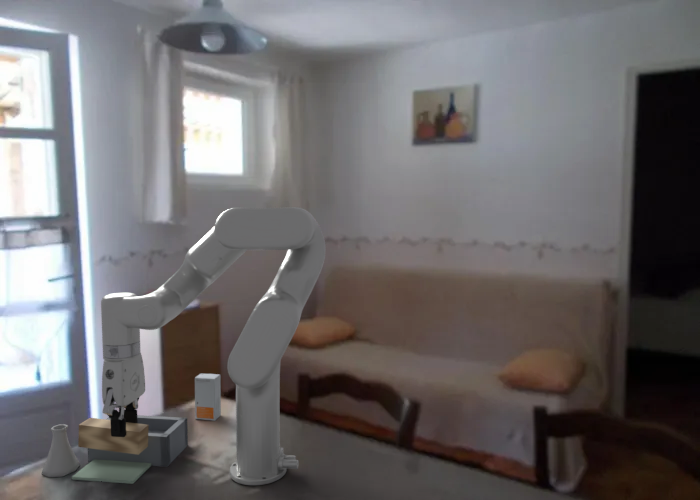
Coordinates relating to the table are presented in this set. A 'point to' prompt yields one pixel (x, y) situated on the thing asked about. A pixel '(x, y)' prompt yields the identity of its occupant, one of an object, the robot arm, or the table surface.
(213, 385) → the skincare box
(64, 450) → the flask
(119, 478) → the mat
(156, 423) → the cradle
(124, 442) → the oak bar
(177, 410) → the table surface
